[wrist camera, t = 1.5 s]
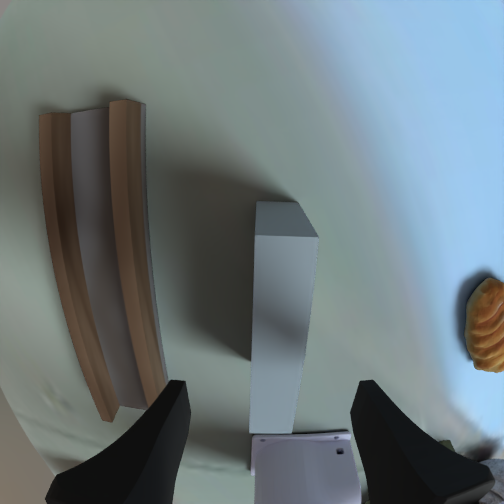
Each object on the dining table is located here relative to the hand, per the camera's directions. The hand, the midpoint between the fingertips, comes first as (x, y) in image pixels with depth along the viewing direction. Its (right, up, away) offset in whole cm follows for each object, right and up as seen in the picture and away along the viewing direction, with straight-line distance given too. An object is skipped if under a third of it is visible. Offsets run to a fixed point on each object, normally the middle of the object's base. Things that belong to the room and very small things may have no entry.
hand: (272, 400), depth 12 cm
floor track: (-10, +4, +9) cm, 14 cm away
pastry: (+20, 0, +10) cm, 23 cm away
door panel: (+1, +3, +9) cm, 10 cm away
